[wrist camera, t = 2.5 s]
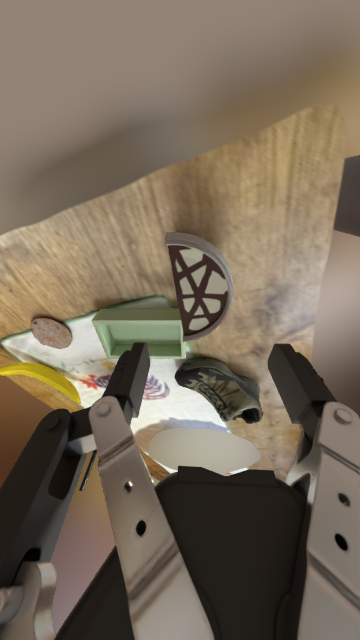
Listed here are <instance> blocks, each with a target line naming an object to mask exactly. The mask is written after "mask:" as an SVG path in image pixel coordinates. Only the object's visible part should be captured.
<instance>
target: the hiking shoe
mask: <svg viewBox="0 0 360 640" xmlns="http://www.w3.org/2000/svg"><path fill="white" fill-rule="evenodd" d="M175 379H176V381H177V383H178V384H179V385H180V386H182V387H186V388H189V389H191V390H194V391H196V392H198V393H200V394H201V395H203V396H204V397H205V398H206V399H207V400H208V401H209V402H210V403H211V404H212V405H213V406H214V408H215V410H216V411H217V413H218V414H219V415H220V418H221V419H222V421H224V422H227V421H229V420H233V421H235V420H236V418H242V419H244V420H245V421H246V423H248V424H253V423H257V422H259V421H261V420H262V416H263V412H262V408H261V405H260V401H259V397H260V396H259V393H260V388H259V386H258V384H257V383H256V382H255V381H254V380H252V379H250V378H247V377H240V376H236V375H234V374H233V373H232V372H231V371H230V370H229V369H228V367H227V366H226V365H225V364H224V363H223V362H220V361H218V360H216V359H208V358H197V359H190V360H187V361H185V362H184V363H183V364H182V365H181V366H180V367H179V369H178V370H177V372H176V374H175Z"/></svg>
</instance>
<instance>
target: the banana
mask: <svg viewBox="0 0 360 640" xmlns="http://www.w3.org/2000/svg"><path fill="white" fill-rule="evenodd" d="M14 374H21V375H27V376H31V377H34V378H36V379H39V380H41V381H43V382H46V383H47V384H49V385H51V386H53V387H55V388H56V389H58V390H60V391H61V392H63V393H64V394H65V395H67V396H68V397H69V398H71V399H72V400H74V401H75V402H77V403H79V404H81V401H80V397H79V394H78V392H77V390H76V388H75V387H74V386H73V384H72V383H71V382H70V381H69V380H67V379H66V378H65V377H64V376H62V375H61V374H60V373H58V372H56V371H55V370H53V369H51V368H49V367H47V366H44V365H41V364H37V363H28V362H26V363H17V364H12V365H8V366H4V367H2V368H0V375H14Z"/></svg>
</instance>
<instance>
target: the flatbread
mask: <svg viewBox="0 0 360 640" xmlns="http://www.w3.org/2000/svg"><path fill="white" fill-rule="evenodd" d="M31 331H32V333H33V335H34V337H35V338H36V339H38V340H39V342H40V343H41V344H43V345H47V346H50V347H54V348H57V349H62V348H65V347H68V346H69V345H70V344H71V341H72V336H71V334H70V332H69V330H68V329H67V328H66V327H65V326H63V325H62V324H60V323H58V322H56V321H54V320H52V319H48V318H36V319H34V320H33V321H32V323H31Z"/></svg>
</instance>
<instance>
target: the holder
mask: <svg viewBox="0 0 360 640" xmlns="http://www.w3.org/2000/svg"><path fill="white" fill-rule="evenodd" d="M92 322H93V325H94V327H95V329H96V332H97V334H98V337H99V339H100V341H101V344H102V346H103V348H104V351H105V353H106V355H107V358H120V356H121V355H122V354H123V353H124V352H125V351H126V350H131V348H132V346H133V343H134V342H146V343H147V347H148V352H149V357H150V359H186V342H183V328H182V323H181V317H180V311H179V308H166V309H100V311H99V312H98V313H97V314H96V316H95V317H94V318H93V319H92Z"/></svg>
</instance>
